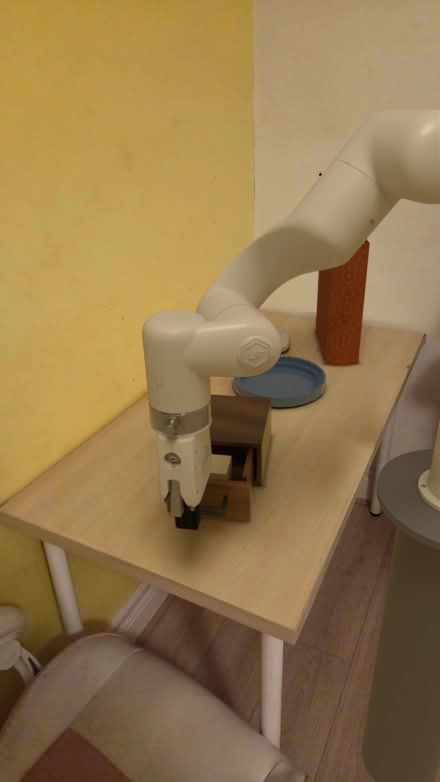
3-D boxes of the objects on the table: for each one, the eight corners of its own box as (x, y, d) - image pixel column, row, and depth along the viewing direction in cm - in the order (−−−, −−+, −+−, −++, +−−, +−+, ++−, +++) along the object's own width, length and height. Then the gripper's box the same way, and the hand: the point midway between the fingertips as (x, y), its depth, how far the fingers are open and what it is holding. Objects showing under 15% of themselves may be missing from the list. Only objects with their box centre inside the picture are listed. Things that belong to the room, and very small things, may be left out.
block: (232, 479, 93) (231, 455, 91) (227, 498, 89) (226, 473, 86) (203, 476, 94) (202, 453, 92) (197, 495, 90) (195, 471, 87)
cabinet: (261, 485, 95) (261, 444, 90) (180, 478, 97) (176, 437, 93) (271, 436, 108) (271, 397, 104) (199, 430, 111) (196, 393, 107)
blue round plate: (325, 368, 133) (326, 357, 132) (323, 412, 115) (324, 400, 114) (241, 364, 137) (240, 353, 136) (226, 406, 119) (226, 394, 118)
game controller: (232, 341, 142) (242, 320, 149) (234, 354, 145) (243, 333, 152) (286, 346, 138) (294, 324, 145) (287, 360, 141) (294, 338, 148)
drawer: (246, 540, 82) (245, 505, 79) (160, 531, 84) (156, 496, 81) (261, 466, 98) (261, 434, 95) (188, 459, 100) (186, 428, 97)
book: (315, 330, 155) (321, 223, 140) (344, 329, 154) (352, 222, 140) (325, 365, 135) (333, 245, 120) (359, 365, 134) (370, 244, 120)
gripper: (196, 449, 59) (203, 570, 67) (222, 385, 72) (224, 493, 80) (131, 443, 60) (145, 562, 69) (167, 381, 73) (176, 488, 82)
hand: (188, 525), depth 75 cm, fingers closed
